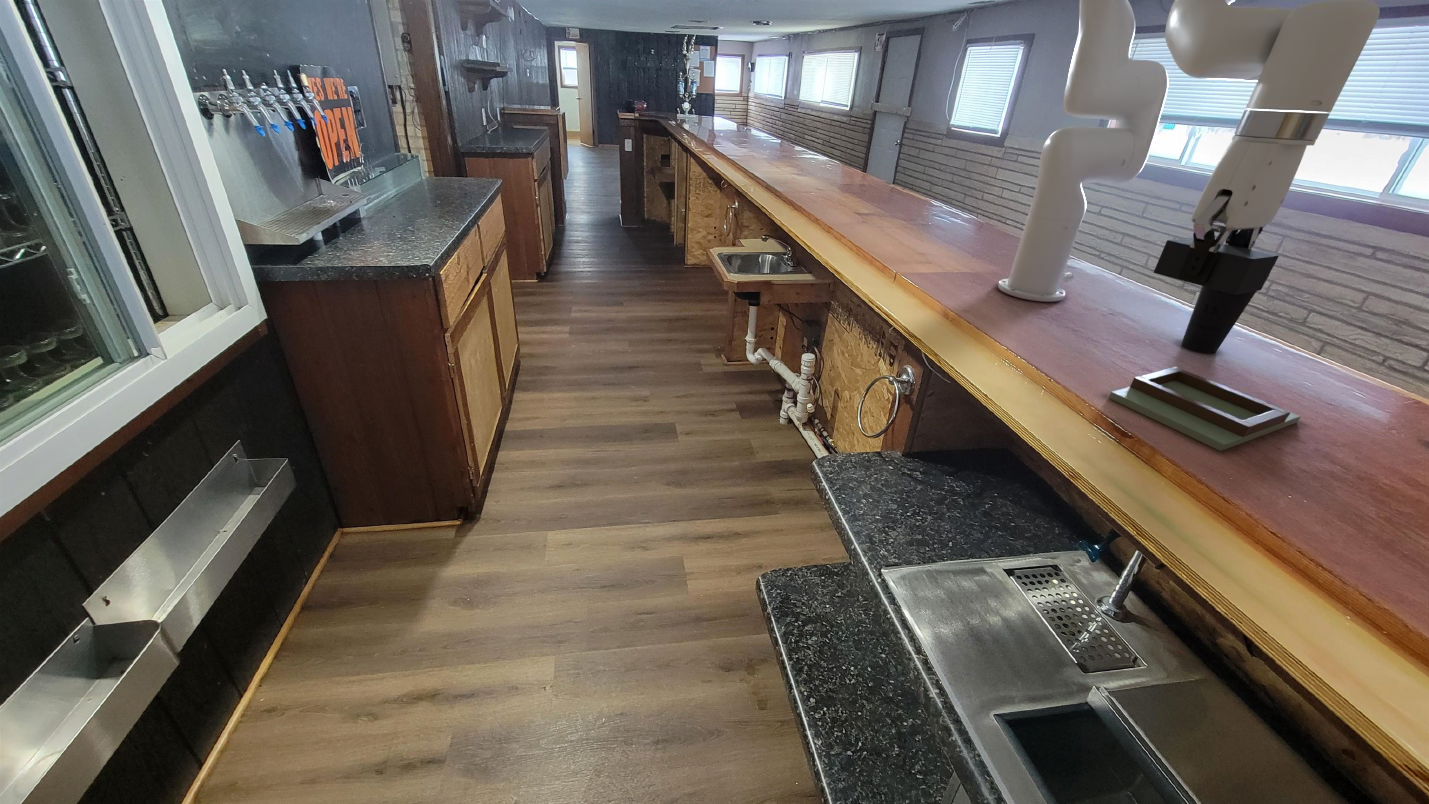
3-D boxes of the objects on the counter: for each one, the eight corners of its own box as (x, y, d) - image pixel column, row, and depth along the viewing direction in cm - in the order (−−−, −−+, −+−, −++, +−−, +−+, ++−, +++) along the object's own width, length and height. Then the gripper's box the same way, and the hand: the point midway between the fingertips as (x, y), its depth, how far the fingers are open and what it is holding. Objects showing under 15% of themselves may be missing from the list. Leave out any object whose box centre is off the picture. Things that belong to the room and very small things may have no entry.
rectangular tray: (1184, 377, 85) (1191, 362, 84) (1297, 422, 74) (1307, 406, 73) (1108, 397, 79) (1115, 382, 77) (1220, 451, 68) (1231, 433, 66)
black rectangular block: (1152, 272, 78) (1167, 240, 76) (1178, 269, 80) (1192, 237, 78) (1235, 295, 70) (1253, 259, 68) (1261, 290, 73) (1279, 255, 70)
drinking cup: (1175, 335, 100) (1231, 220, 91) (1229, 349, 96) (1294, 229, 86) (1166, 346, 96) (1224, 226, 86) (1222, 361, 91) (1290, 236, 81)
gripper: (1277, 128, 73) (1212, 266, 81) (1200, 126, 66) (1138, 276, 75) (1353, 132, 67) (1274, 281, 75) (1277, 131, 60) (1199, 293, 69)
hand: (1207, 277), depth 75 cm, fingers closed on black rectangular block, 6 cm apart
